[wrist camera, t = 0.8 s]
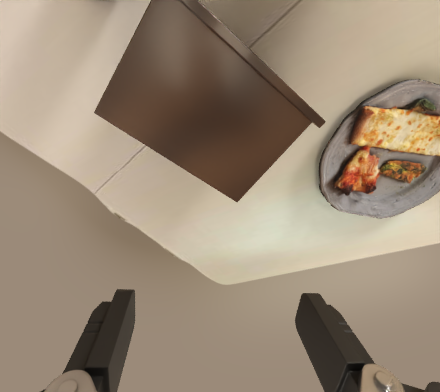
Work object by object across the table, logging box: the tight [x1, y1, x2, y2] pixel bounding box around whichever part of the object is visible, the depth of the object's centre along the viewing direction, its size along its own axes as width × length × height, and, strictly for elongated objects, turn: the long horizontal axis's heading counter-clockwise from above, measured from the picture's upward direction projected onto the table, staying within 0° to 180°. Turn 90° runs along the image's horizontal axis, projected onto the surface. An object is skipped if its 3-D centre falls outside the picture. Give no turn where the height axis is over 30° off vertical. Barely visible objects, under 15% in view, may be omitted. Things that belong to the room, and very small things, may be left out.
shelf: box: [94, 0, 325, 202], centre depth 30 cm, size 18×13×15 cm
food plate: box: [319, 79, 440, 218], centre depth 42 cm, size 25×23×4 cm
